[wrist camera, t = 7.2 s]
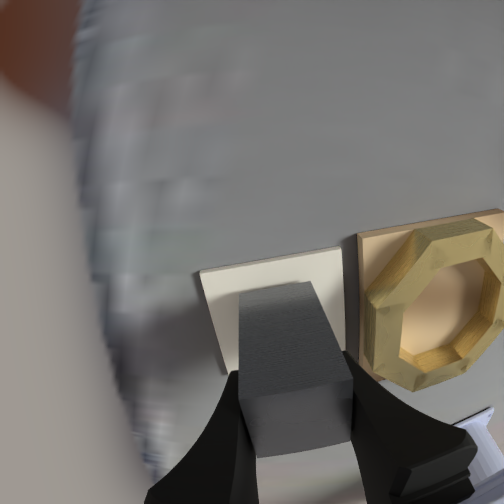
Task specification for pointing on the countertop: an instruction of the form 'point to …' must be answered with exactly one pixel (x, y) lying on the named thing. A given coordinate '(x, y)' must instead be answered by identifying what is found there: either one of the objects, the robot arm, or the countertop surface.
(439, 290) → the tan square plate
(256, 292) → the steel block
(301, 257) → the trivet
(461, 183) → the countertop surface
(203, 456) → the robot arm
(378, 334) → the collar
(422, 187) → the countertop surface
